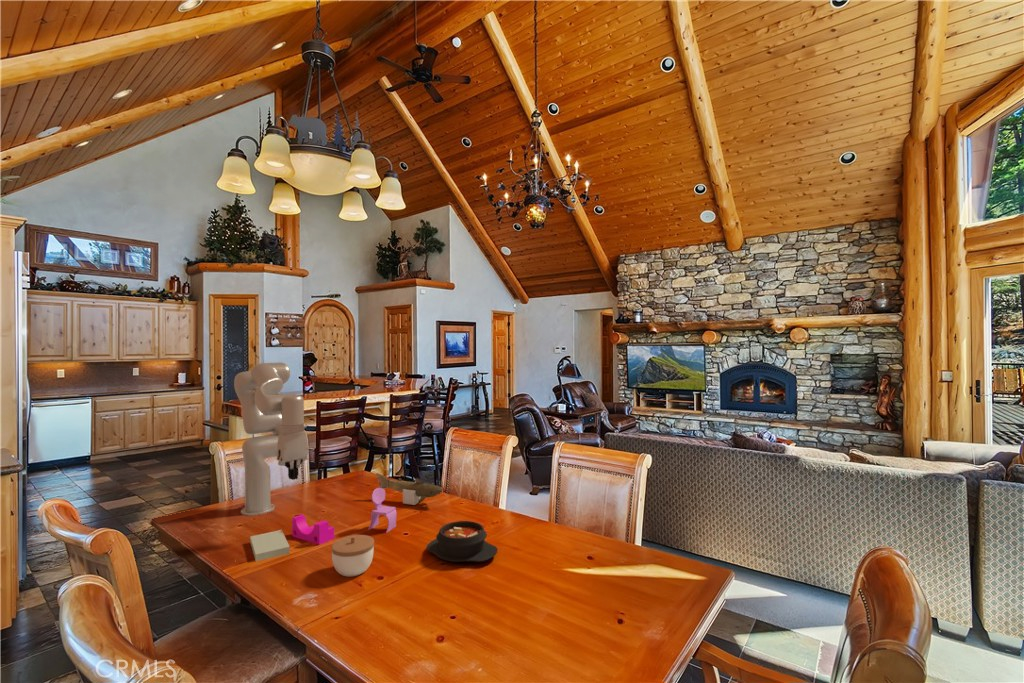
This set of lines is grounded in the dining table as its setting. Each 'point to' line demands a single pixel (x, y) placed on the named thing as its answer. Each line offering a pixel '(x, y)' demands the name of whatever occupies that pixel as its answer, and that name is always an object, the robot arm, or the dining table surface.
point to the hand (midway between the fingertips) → (293, 478)
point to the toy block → (312, 530)
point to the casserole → (462, 543)
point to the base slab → (269, 545)
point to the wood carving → (410, 489)
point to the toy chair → (382, 510)
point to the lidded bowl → (352, 554)
